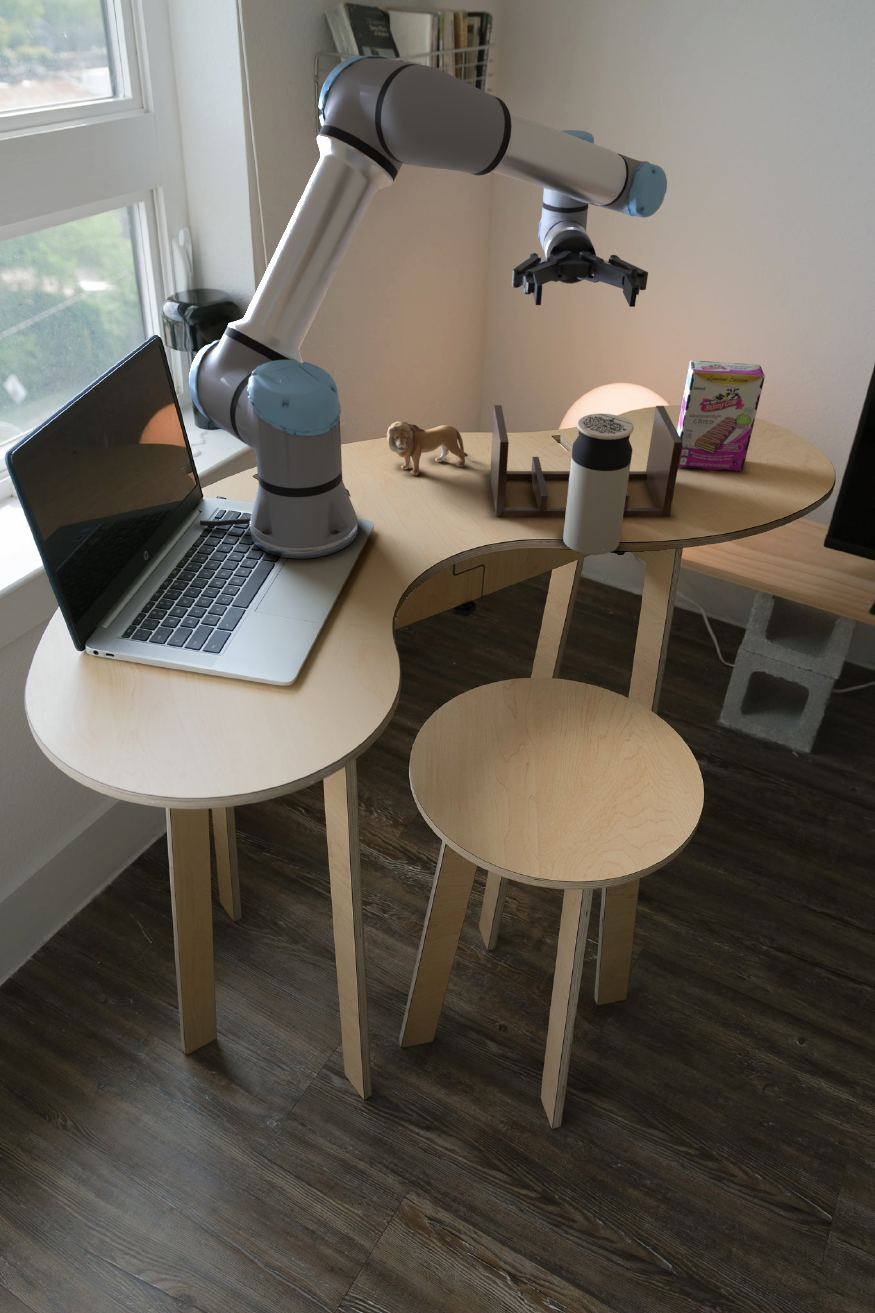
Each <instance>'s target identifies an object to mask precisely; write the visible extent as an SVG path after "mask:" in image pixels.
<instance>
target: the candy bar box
mask: <svg viewBox="0 0 875 1313" xmlns="http://www.w3.org/2000/svg"><path fill="white" fill-rule="evenodd" d="M765 377H766V375H765V373H764V370H763V368H762V365H761V364H754V363H737V362H724V361H723V362H722V361H709V360H689V363H688V369H687V375H686V380H685V385H684V391H683V396H682V402H681V407H680V412H679V417H678V419H679V420H678V422H677V428H676V431H677V433H678V435H679V437H680V439H681V440H682V442H683V443H682V449H681V454H680V460H679V466H678V468H682V469H683V468H685V469H699V470H700V469H701V470H715V471H730V472H743V471H744V467H745V463H746V460H747V458H746V457H747V455H748V450H749V446H750V442H751V437H752V434H753V429H754V426H755V425H754V424H755V421H756V416H757V412H758V409H759V408H758V407H759V403H760V399H761V394H762V391H763V388H764V382H765Z"/></svg>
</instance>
